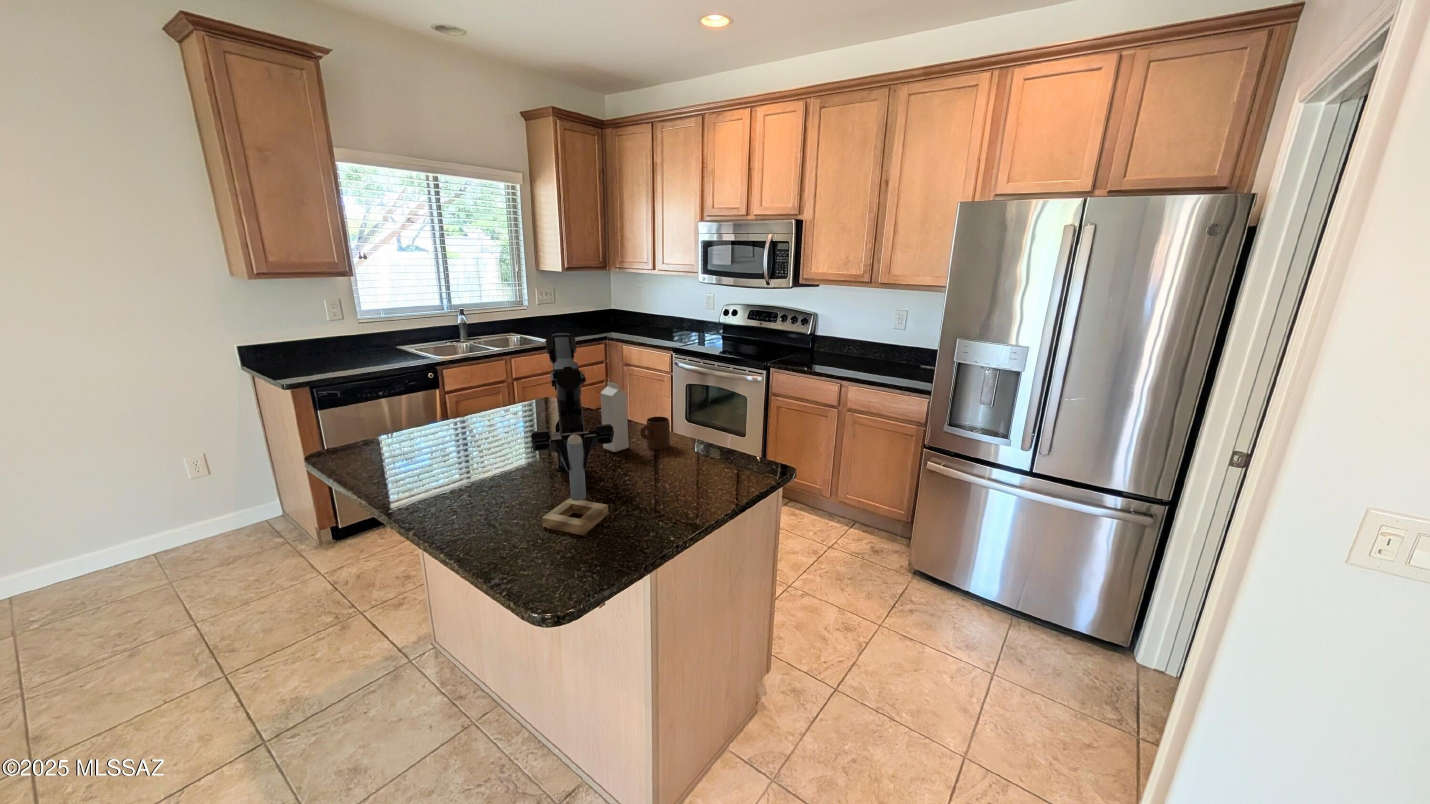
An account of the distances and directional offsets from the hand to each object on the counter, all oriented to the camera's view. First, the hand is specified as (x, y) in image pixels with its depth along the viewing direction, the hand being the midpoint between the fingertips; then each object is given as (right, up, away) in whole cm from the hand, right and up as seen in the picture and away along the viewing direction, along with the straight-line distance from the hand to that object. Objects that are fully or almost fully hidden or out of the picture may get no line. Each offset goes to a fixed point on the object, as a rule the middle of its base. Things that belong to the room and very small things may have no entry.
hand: (577, 470), depth 123 cm
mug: (+12, 0, +52) cm, 54 cm away
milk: (-1, 0, +53) cm, 52 cm away
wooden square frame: (-1, -13, +5) cm, 14 cm away
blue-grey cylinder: (0, -7, +3) cm, 8 cm away
